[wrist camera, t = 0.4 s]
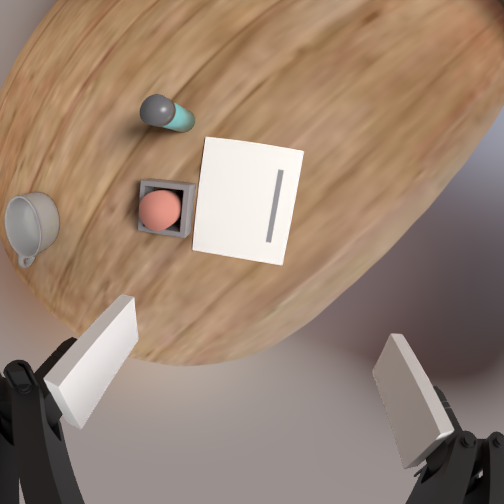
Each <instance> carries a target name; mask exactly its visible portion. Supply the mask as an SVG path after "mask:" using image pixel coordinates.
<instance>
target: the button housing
mask: <svg viewBox="0 0 504 504" xmlns="http://www.w3.org/2000/svg"><path fill="white" fill-rule="evenodd" d="M154 187H161V188H170V189H178V190H184V194H183V204H182V215H181V226H178V225H171V226H169V227H168V228H166V229H164V230H162V231H154V230H151V229H149V228H147V227H146V226H145V225H144V224H143V222H142V221H141V219H140V216H139V217H138V230H139V231H145V232H151V233H157V234H162V235H168V236H174V237H180V238H185V237H186V236H188V235H189V234H190V233H191V226H192V216H193V206H194V197H195V188H196V183H188V182H180V181H171V180H162V179H152V178H149V179H144V180H141V185H140V199H139V205H140V202H141V200H142V199H143V198H144V196H146V195H147V194H149V193H151V192H153V190H154Z"/></svg>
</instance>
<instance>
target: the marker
mask: <svg viewBox="0 0 504 504" xmlns="http://www.w3.org/2000/svg"><path fill="white" fill-rule="evenodd" d="M140 117H141V119H142V121H143V122H144V123H146V124H148V125H152V126H156V127H164V128H167V129H171V130H175V131H178V132H187V131H189V130H190V129H192V127H193V126H194V123H195V117H194V115H193V113H192V112H190V111H188V110H186V109H185V108H183V107H181V106H179V105H177V104H176V103H174V102H173V101H172V100H170V99H168V98H166V97H164V96H163V95H159V94H155V95H151V96H149V97H148V98H146V99H145V100H144V102H143V103H142V105H141V108H140Z"/></svg>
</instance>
